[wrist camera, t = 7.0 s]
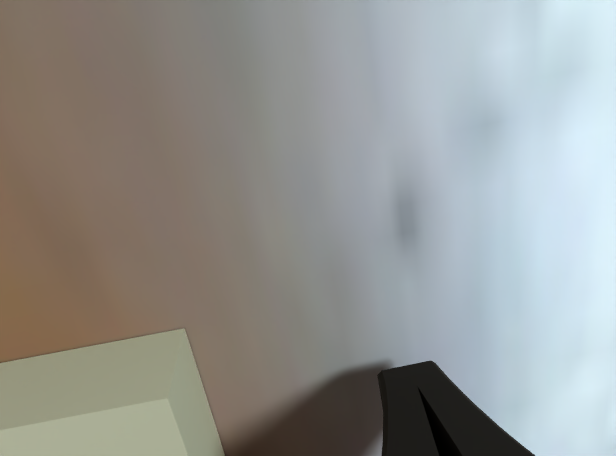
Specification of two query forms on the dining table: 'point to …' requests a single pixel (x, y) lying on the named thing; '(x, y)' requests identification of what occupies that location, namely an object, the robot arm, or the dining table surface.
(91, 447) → the cream toy brick
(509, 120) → the dining table surface
